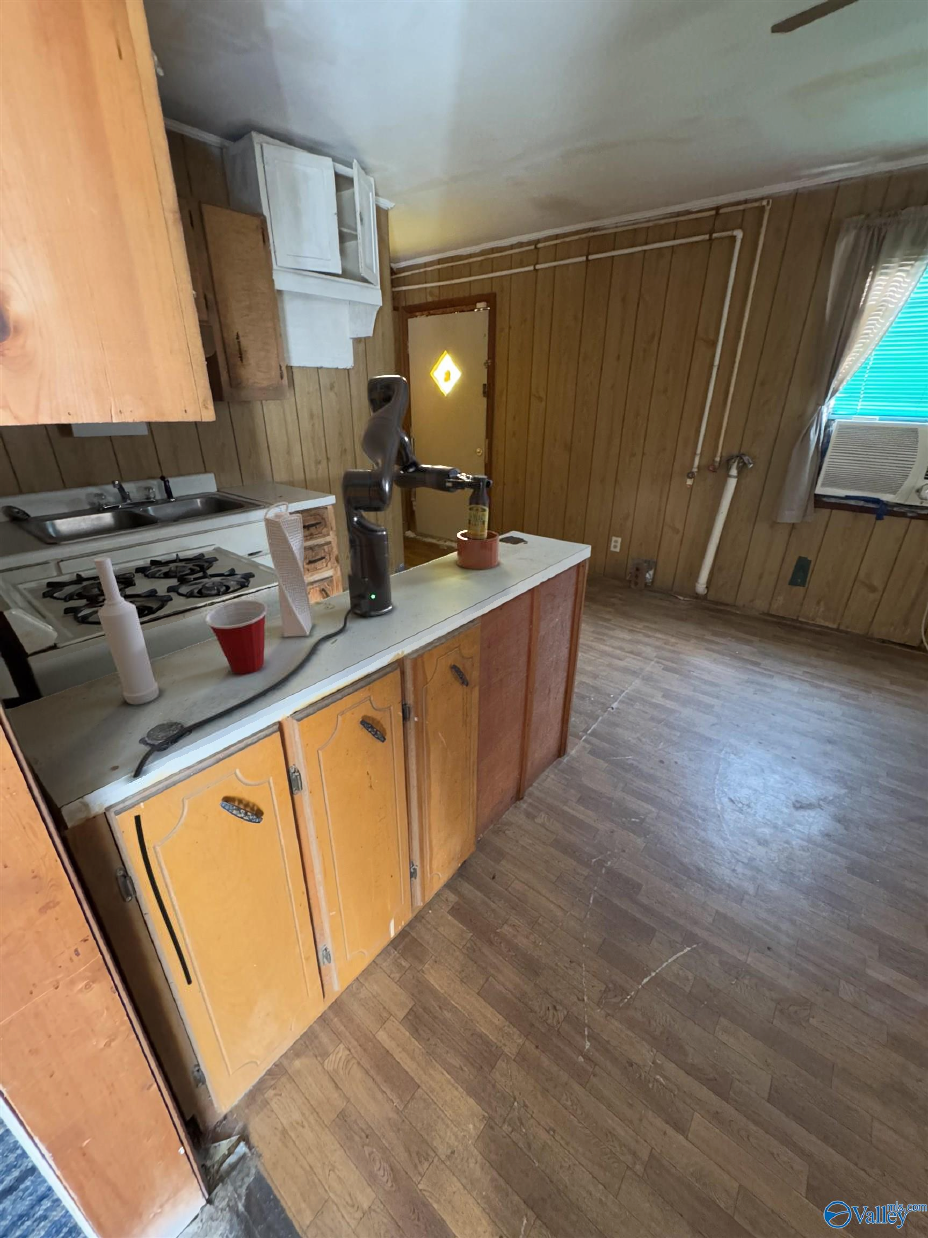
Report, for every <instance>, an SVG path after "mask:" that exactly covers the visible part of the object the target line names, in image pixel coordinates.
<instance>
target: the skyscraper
mask: <svg viewBox="0 0 928 1238" xmlns="http://www.w3.org/2000/svg"><path fill="white" fill-rule="evenodd" d="M283 505H285V511H277V512H274V515H272V516H271V515H270V516H268V514H269V512H270V511H271V510H272V509H274V508H275V507H278V506H283ZM289 505H290V503H289V502H287V501H280V502H276V503H274V504H272V505H271V506H269V507H268V508H267V509H266V511H265V513H264V516H263V520H264V521H263V523H264V527H265V533H266V539H267V544H268V549H269V555H270V558H271V562H272V565H273V568H274V571H275V574H276V577H277V589H278V601H279V609H280V611H279V612H280V617H281V624H282V625H281V626H282V633H283V638H286V637H309V634H310V632H311V629H312V628H313V626H314V623H313V616H312V608H311V600H310V595H309V591H308V585H307V582H306V578H305V574H304V571H303V569H304V558H305V557H304V556H305V547H304V546H305V543H304V542H305V541H304V540H305V539H304V528H303V517H302V514H301V513H293V514H290V512H289Z"/></svg>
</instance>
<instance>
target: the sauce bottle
mask: <svg viewBox="0 0 928 1238" xmlns="http://www.w3.org/2000/svg"><path fill="white" fill-rule="evenodd" d="M474 475H475V476H474V477H473V481H477V482H482V490H475V489H472V492H471V494H470V495H469V497H468V507H467V519H466V520H467V523H466V531H467V539H471V540H486V537H487V531H488V524H489V523H488V522H489V507H490V506H489V504H490V498H489V496H488V494H487V488H486V482H487V480H488V476H487V475H483V474H482V475H481V474H474Z"/></svg>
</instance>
